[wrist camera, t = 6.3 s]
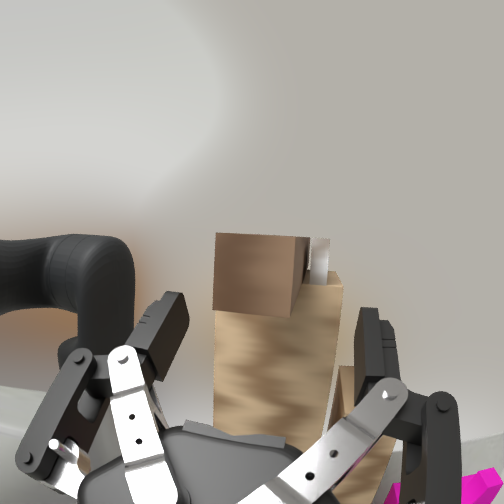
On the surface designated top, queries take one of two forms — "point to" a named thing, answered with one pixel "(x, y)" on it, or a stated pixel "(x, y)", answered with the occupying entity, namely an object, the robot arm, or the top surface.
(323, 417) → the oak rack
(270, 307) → the walnut bar
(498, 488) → the toy block
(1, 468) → the top surface
